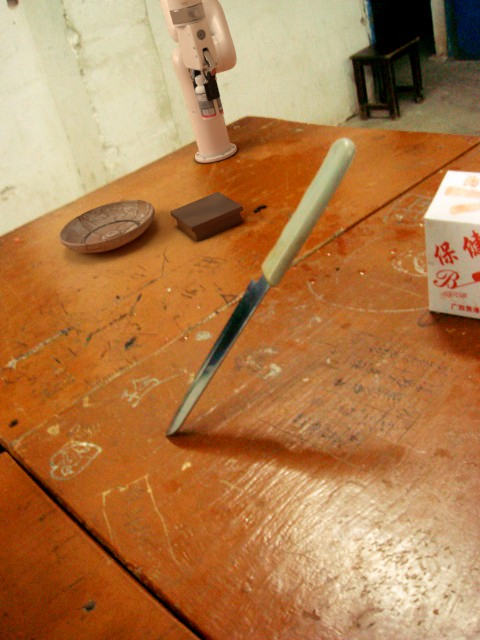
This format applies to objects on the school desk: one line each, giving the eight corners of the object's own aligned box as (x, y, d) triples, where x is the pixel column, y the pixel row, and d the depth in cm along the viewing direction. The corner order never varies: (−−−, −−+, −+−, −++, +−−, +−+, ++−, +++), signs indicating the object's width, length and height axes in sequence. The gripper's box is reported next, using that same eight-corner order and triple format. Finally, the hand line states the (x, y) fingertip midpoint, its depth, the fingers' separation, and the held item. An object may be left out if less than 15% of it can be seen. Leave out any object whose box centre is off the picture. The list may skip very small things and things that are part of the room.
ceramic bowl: (175, 232, 150) (169, 213, 147) (83, 274, 142) (75, 255, 139) (138, 208, 168) (132, 190, 165) (54, 244, 160) (46, 226, 157)
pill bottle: (215, 112, 156) (205, 71, 151) (228, 114, 153) (218, 72, 147) (198, 120, 154) (187, 79, 149) (211, 122, 150) (200, 79, 145)
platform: (174, 226, 153) (169, 211, 150) (221, 206, 156) (218, 191, 154) (195, 243, 142) (191, 227, 140) (246, 221, 146) (242, 205, 144)
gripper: (219, 10, 135) (238, 96, 145) (187, 10, 149) (207, 89, 159) (188, 20, 133) (209, 107, 143) (158, 19, 147) (180, 98, 157)
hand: (208, 96), depth 151 cm, fingers closed on pill bottle, 5 cm apart
